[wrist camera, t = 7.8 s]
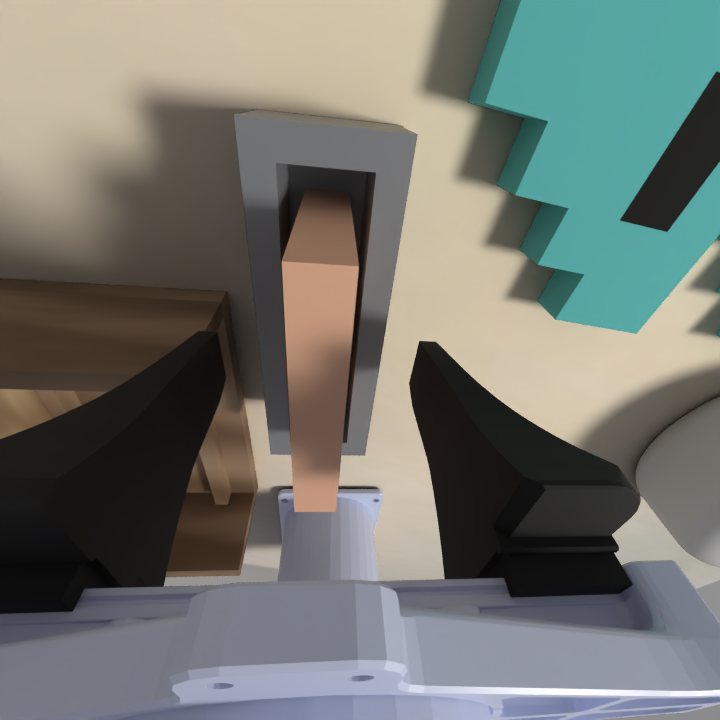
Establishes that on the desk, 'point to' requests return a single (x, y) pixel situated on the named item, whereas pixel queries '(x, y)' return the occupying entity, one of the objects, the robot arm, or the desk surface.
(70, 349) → the rack
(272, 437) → the holder
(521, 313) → the desk surface
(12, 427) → the offcut
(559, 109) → the alien figure
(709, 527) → the donut shape
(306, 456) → the salmon rectangular block
